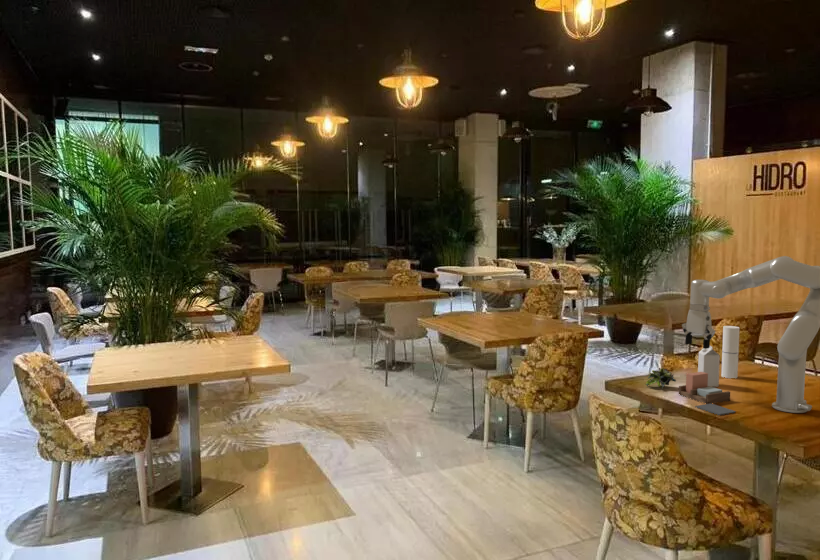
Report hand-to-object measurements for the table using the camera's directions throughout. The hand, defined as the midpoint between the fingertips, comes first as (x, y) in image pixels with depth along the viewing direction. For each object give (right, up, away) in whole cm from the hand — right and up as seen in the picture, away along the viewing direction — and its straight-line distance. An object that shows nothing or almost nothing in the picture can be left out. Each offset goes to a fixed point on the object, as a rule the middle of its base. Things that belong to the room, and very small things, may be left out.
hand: (697, 346), depth 274 cm
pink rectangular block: (+1, -22, +2) cm, 22 cm away
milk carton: (+14, -21, +19) cm, 31 cm away
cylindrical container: (+32, -19, +34) cm, 50 cm away
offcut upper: (+3, -21, -5) cm, 22 cm away
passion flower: (-10, -21, +15) cm, 28 cm away
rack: (+2, -23, -2) cm, 23 cm away
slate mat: (-2, -24, -19) cm, 31 cm away
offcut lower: (+3, -23, -5) cm, 24 cm away
